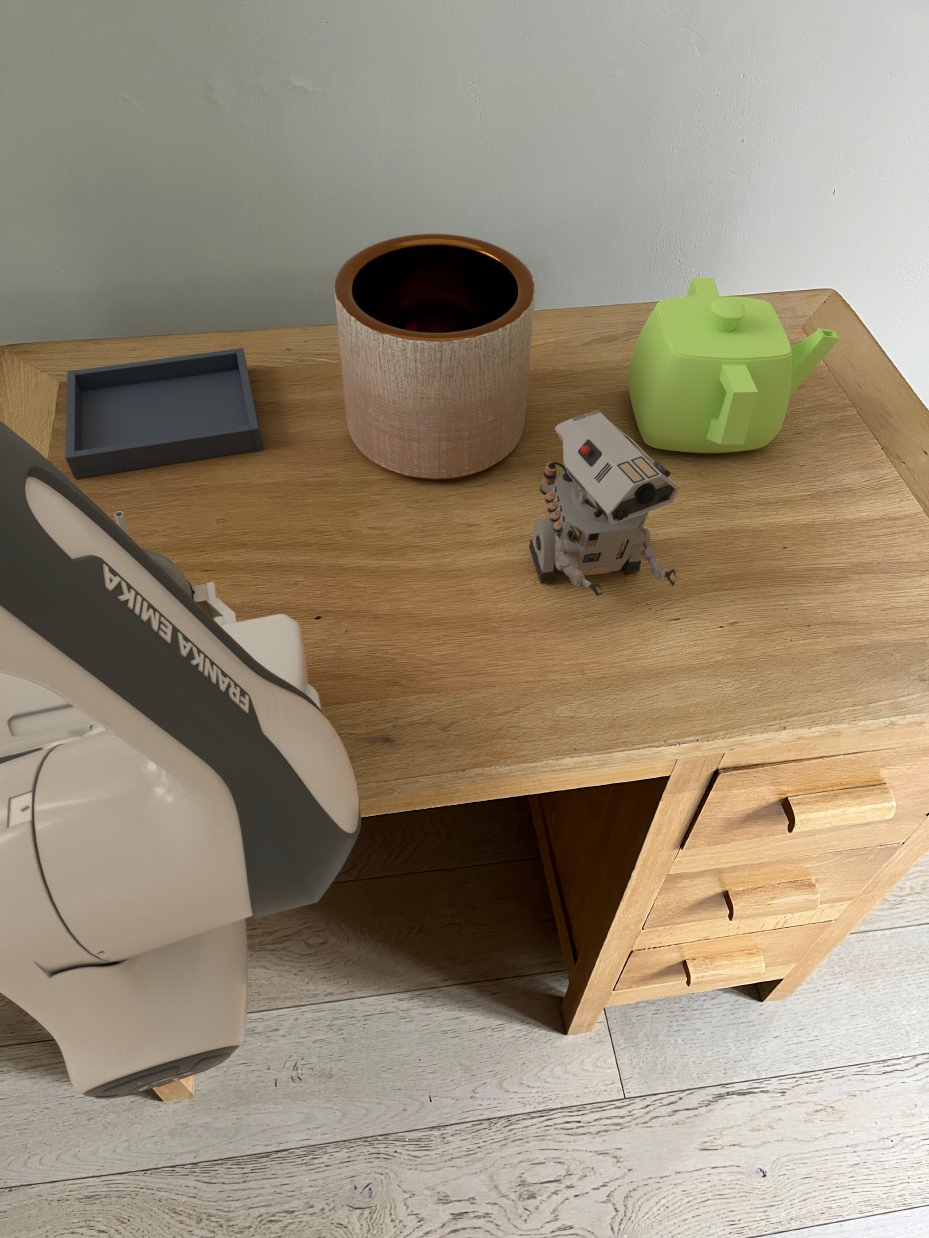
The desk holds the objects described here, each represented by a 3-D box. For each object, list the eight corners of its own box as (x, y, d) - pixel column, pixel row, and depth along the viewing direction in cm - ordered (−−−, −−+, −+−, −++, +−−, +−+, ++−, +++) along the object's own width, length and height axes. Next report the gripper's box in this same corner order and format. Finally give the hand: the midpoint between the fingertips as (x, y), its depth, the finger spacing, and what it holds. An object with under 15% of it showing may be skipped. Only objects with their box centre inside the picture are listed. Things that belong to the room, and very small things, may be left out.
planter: (369, 502, 79) (356, 355, 67) (332, 388, 90) (314, 244, 78) (548, 468, 83) (567, 323, 71) (492, 363, 93) (500, 221, 81)
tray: (74, 479, 80) (65, 458, 78) (75, 392, 89) (66, 371, 87) (263, 449, 84) (259, 428, 82) (247, 368, 92) (243, 347, 90)
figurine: (555, 638, 70) (579, 505, 58) (524, 538, 77) (540, 401, 65) (662, 624, 71) (706, 491, 59) (622, 526, 78) (654, 390, 66)
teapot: (778, 363, 94) (819, 250, 84) (832, 488, 82) (888, 373, 72) (612, 363, 94) (633, 249, 84) (641, 488, 81) (670, 372, 71)
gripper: (323, 712, 48) (288, 540, 57) (-66, 796, 45) (-44, 599, 53) (334, 767, 53) (300, 601, 62) (-16, 847, 50) (-3, 659, 58)
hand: (139, 601), depth 57 cm, fingers closed on beverage cup, 7 cm apart
